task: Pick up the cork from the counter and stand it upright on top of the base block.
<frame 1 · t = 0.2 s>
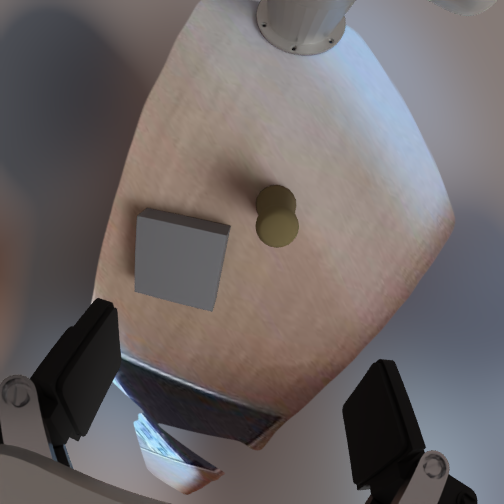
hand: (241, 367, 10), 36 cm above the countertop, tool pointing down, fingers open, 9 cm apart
cork: (276, 204, 44), on the countertop
base block: (182, 255, 48), on the countertop
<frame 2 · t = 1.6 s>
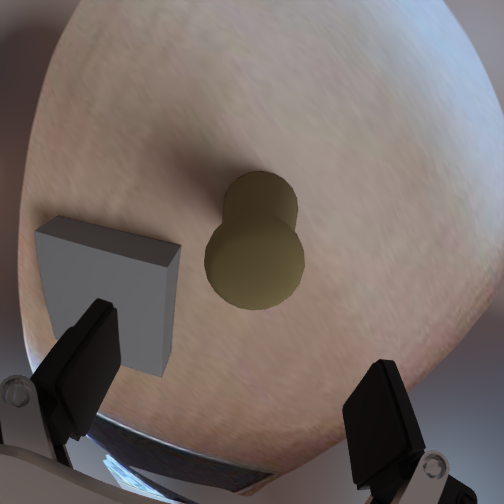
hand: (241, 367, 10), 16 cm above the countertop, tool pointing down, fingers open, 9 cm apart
cork: (260, 207, 24), on the countertop
base block: (113, 289, 28), on the countertop
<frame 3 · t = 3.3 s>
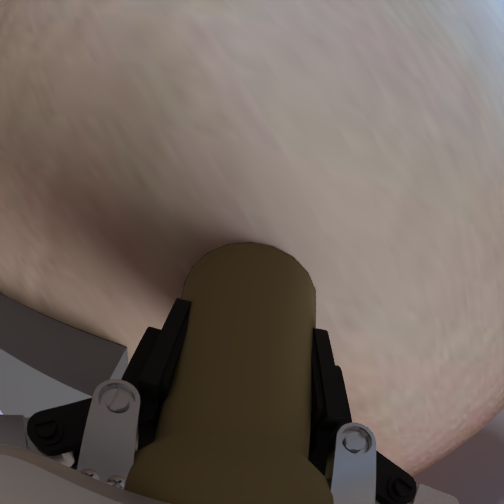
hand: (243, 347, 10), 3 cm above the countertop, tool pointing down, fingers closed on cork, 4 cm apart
cork: (249, 302, 13), on the countertop, touching gripper
base block: (56, 378, 18), on the countertop
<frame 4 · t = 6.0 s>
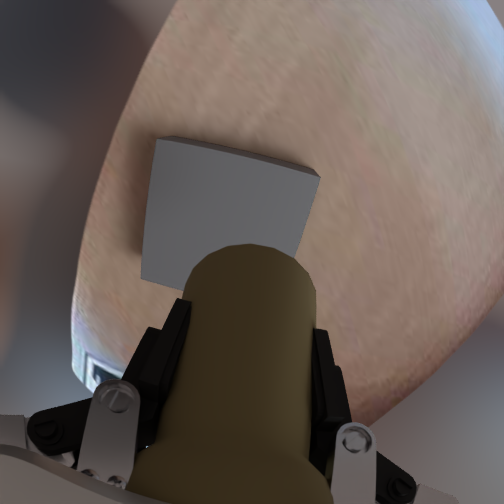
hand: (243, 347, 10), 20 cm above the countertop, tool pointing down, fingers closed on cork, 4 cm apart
cork: (249, 303, 13), point 17 cm above the countertop, touching gripper
base block: (225, 218, 29), on the countertop
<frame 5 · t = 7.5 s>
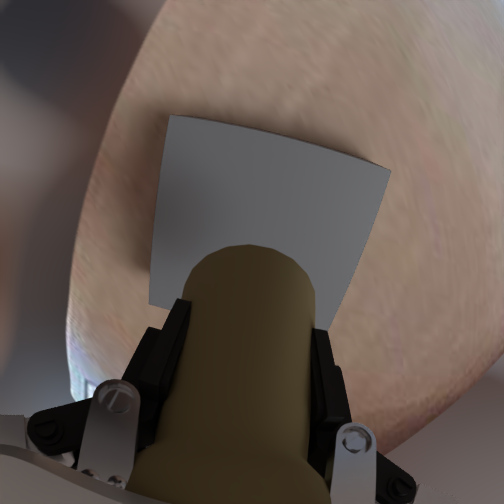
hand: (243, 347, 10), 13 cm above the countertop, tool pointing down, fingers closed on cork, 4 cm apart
cork: (248, 303, 13), point 10 cm above the countertop, touching gripper
base block: (259, 223, 23), on the countertop
when the fingers open (8 cm above the countertop, at t = 8.7 s): cork drops 1 cm, resting on base block.
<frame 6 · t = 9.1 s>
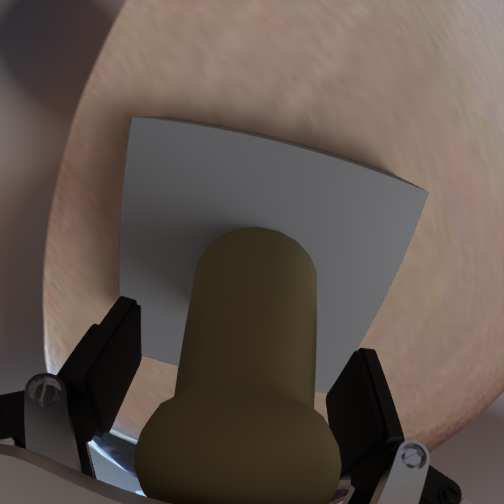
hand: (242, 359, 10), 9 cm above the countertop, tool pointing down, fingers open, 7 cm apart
cork: (255, 283, 14), point 4 cm above the countertop, touching base block
base block: (255, 253, 18), on the countertop
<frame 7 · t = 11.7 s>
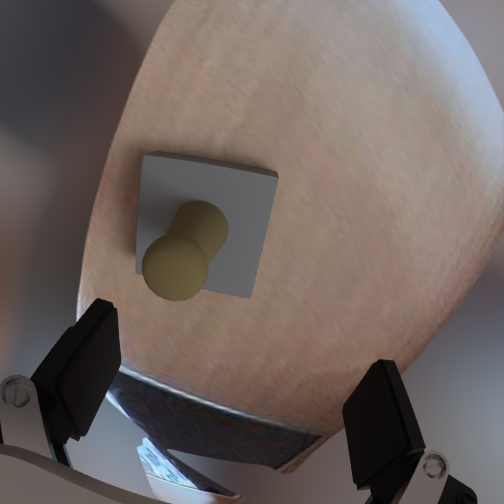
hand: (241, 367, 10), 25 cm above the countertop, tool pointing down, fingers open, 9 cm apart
cork: (200, 227, 31), point 4 cm above the countertop, touching base block
base block: (205, 218, 34), on the countertop
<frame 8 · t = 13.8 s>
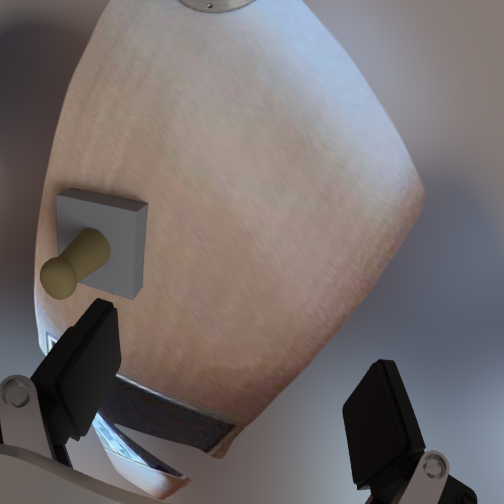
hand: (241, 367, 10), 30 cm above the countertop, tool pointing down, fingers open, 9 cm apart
cork: (94, 246, 38), point 4 cm above the countertop, touching base block
base block: (105, 237, 42), on the countertop
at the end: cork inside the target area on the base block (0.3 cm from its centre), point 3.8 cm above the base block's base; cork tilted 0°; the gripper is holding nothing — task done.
